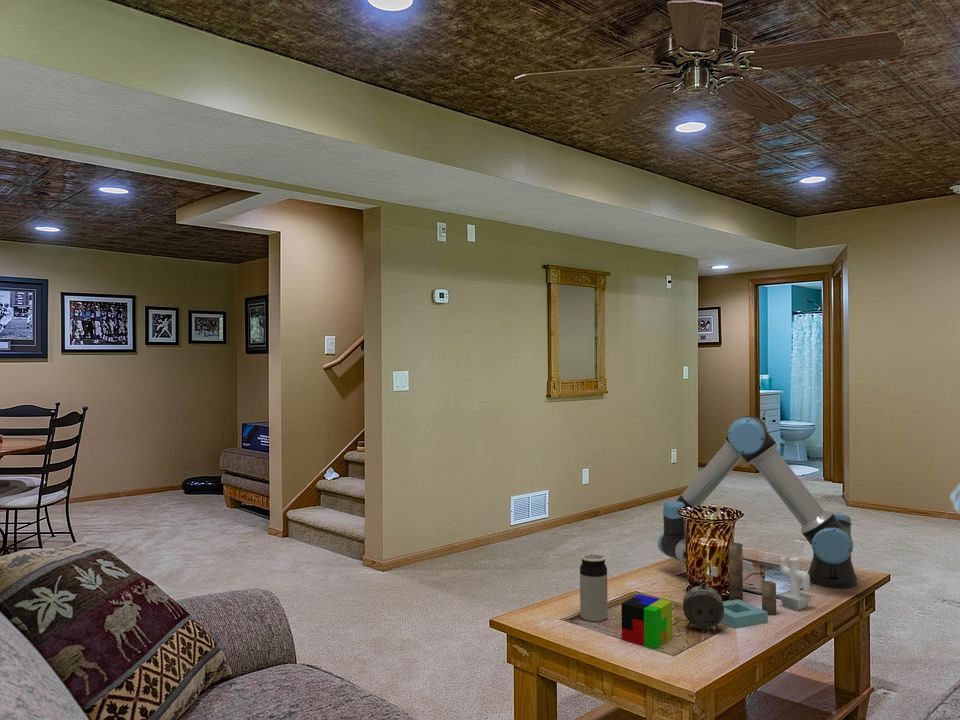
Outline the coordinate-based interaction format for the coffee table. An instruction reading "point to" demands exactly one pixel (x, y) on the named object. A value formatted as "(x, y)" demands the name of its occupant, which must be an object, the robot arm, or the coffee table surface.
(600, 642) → the coffee table surface
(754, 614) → the teal square frame
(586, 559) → the travel mug
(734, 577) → the long dowel
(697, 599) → the alarm clock
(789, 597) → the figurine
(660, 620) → the puzzle toy
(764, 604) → the short dowel
